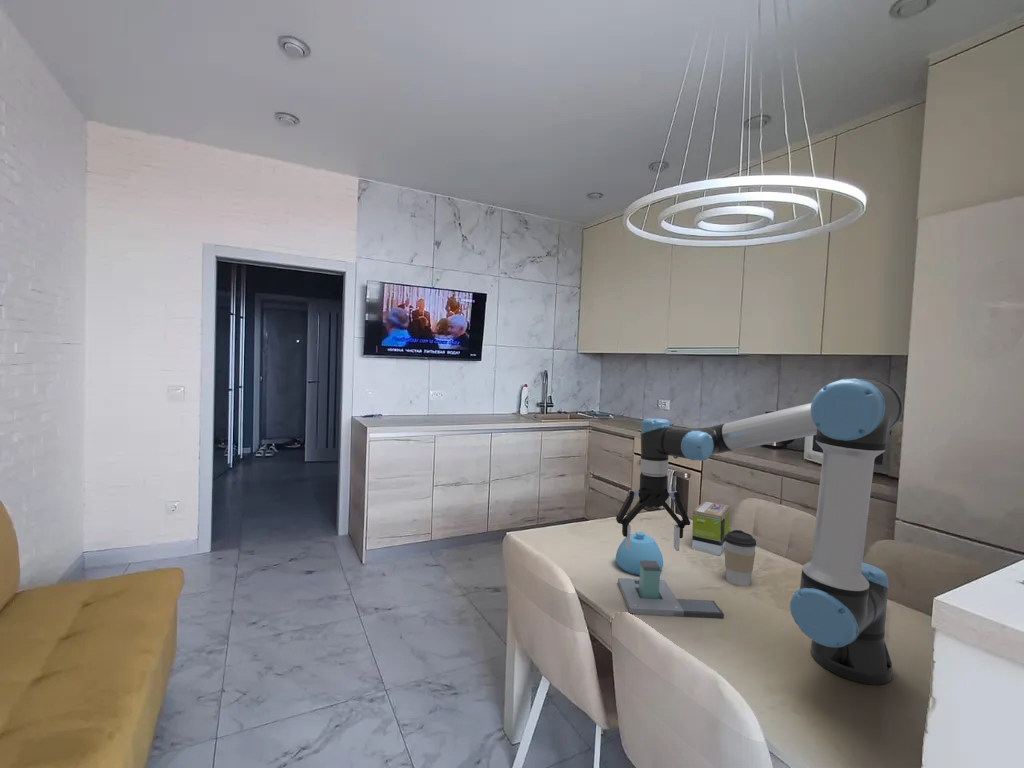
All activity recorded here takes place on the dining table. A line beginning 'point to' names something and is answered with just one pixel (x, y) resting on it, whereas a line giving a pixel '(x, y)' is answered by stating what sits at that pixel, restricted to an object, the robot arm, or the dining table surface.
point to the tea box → (710, 527)
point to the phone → (700, 608)
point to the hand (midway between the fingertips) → (651, 548)
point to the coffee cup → (739, 557)
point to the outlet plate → (649, 606)
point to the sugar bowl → (638, 553)
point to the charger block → (649, 580)
